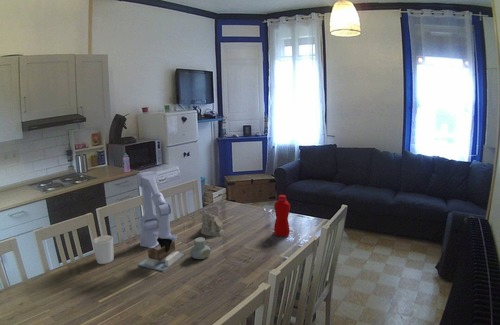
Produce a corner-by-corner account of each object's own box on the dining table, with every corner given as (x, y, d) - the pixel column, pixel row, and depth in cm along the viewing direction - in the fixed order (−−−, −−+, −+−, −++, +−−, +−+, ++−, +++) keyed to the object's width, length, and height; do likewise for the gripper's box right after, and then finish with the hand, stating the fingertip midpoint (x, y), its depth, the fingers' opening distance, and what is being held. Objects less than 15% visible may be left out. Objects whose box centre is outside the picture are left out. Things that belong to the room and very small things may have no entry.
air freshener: (202, 250, 189) (201, 234, 187) (213, 255, 184) (212, 238, 182) (187, 258, 181) (186, 241, 179) (198, 263, 176) (197, 245, 174)
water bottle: (292, 237, 205) (293, 197, 200) (274, 237, 205) (275, 198, 200) (291, 230, 214) (291, 193, 209) (273, 231, 214) (274, 193, 209)
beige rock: (217, 238, 205) (216, 214, 203) (196, 233, 213) (195, 210, 211) (231, 230, 218) (231, 207, 216) (211, 226, 226) (210, 204, 224)
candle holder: (119, 257, 182) (117, 236, 180) (106, 266, 173) (103, 244, 171) (104, 254, 186) (102, 234, 183) (91, 263, 176) (88, 241, 174)
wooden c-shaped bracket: (148, 257, 175) (147, 249, 174) (163, 247, 186) (162, 239, 184) (160, 260, 172) (159, 251, 171) (175, 250, 182) (174, 241, 181)
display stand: (138, 265, 174) (137, 258, 173) (159, 250, 190) (159, 243, 189) (163, 271, 168) (163, 264, 167) (184, 255, 184) (183, 248, 183)
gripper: (180, 226, 174) (181, 250, 177) (158, 221, 180) (159, 245, 183) (171, 231, 168) (173, 256, 171) (149, 226, 174) (150, 250, 177)
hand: (165, 251), depth 176 cm, fingers closed on wooden c-shaped bracket
